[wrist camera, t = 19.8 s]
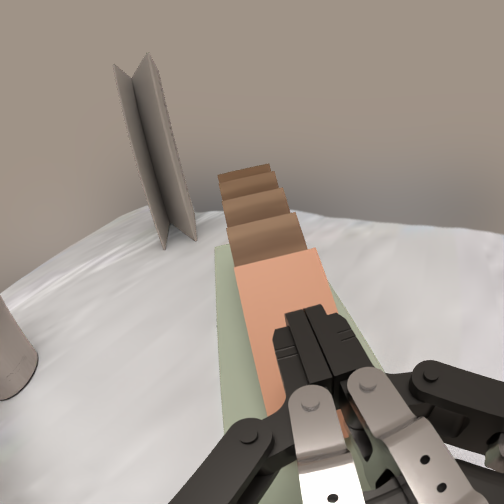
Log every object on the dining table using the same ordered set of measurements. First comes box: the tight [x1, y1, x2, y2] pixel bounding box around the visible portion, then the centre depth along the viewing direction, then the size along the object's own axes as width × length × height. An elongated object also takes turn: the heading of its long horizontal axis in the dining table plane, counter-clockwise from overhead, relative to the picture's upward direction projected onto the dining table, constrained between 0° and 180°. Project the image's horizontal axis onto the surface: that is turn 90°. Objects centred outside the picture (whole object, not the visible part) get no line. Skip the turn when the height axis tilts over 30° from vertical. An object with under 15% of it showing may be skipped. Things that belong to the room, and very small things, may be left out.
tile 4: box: [219, 171, 279, 201], centre depth 25 cm, size 2×5×11 cm, turn 98°
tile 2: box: [226, 212, 308, 267], centre depth 19 cm, size 2×5×11 cm
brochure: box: [113, 52, 197, 250], centre depth 43 cm, size 14×6×30 cm, turn 13°
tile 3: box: [222, 188, 290, 228], centre depth 22 cm, size 2×5×11 cm
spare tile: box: [234, 248, 349, 439], centre depth 15 cm, size 2×5×11 cm
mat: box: [215, 244, 385, 504], centre depth 23 cm, size 36×11×1 cm, turn 7°
